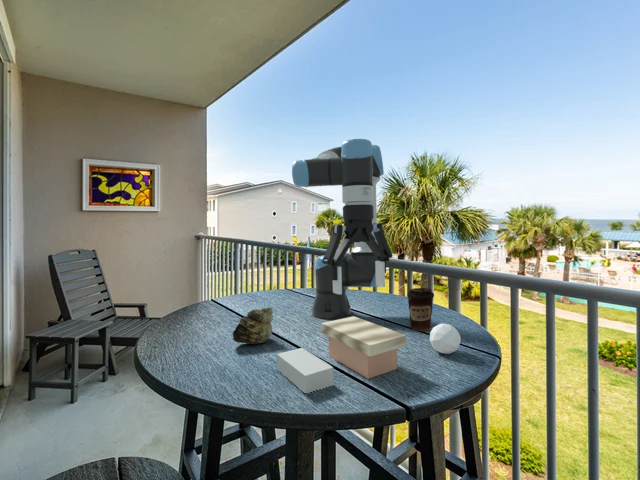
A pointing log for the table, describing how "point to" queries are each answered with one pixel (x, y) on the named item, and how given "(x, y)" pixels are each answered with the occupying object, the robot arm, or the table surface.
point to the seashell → (254, 327)
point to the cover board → (364, 335)
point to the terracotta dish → (362, 359)
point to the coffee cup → (420, 308)
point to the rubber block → (305, 370)
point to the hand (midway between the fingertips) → (359, 289)
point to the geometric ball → (445, 338)
